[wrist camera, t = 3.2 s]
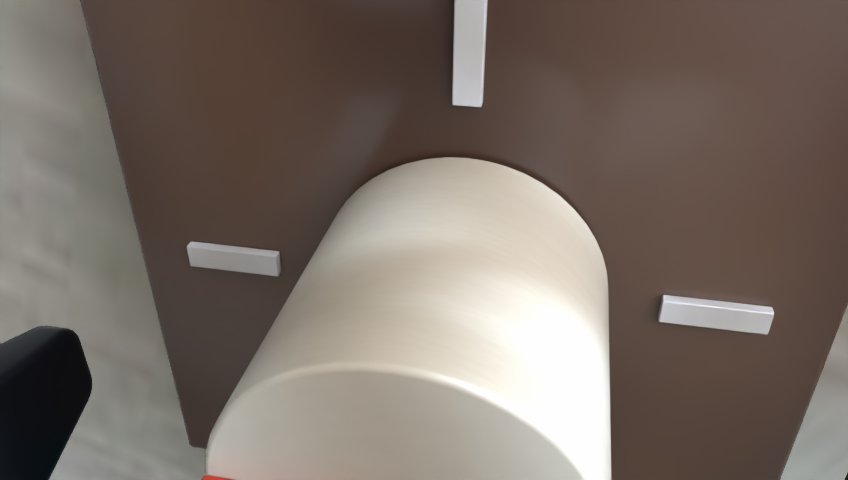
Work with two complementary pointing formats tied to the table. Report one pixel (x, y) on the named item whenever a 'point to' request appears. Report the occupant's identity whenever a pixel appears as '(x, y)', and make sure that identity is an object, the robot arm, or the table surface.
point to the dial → (433, 341)
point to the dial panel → (520, 150)
